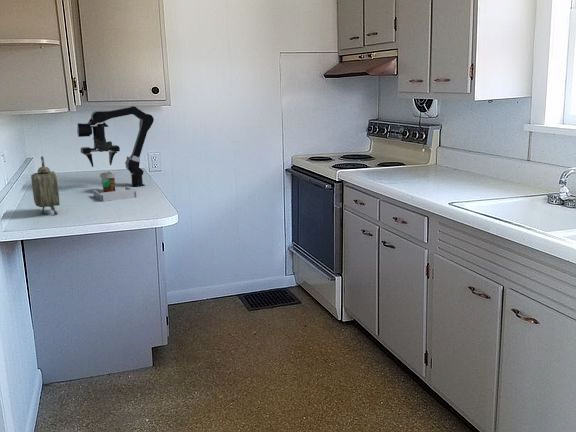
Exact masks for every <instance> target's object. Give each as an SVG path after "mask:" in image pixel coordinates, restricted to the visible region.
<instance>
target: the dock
mask: <svg viewBox="0 0 576 432" xmlns="http://www.w3.org/2000/svg"><path fill="white" fill-rule="evenodd" d="M92 193H93V194H92V195H93V197H95V199H97V200H98V201H99V202H109V201H116V200H117V201H118V200H126V199H133V198H137V189H136V188H131V187H129V186H128V185H127V186H125V189H123V190H115V191H113V192H104V191H103V192H99V191H98V190H96V189H93V191H92Z"/></svg>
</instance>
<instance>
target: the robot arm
mask: <svg viewBox="0 0 576 432" xmlns="http://www.w3.org/2000/svg"><path fill="white" fill-rule="evenodd" d="M130 115H133V116H134V117H136V118H137V119H139V122H138V123H139V124H138V125H139V129H138V133H137V136H136V139H135V142H134V146H133V149H132V152H131V154H130V156H126V160H125V162H124V164H125V168H126V170H127V171H129V172H130V174H131V175H130V176H131V183H130V184H129V185H130V186H131V187H133V188H135V187H142V186H146V184H145V183H143V182H144V181H143V175H144V170H143V169H142V168H141V167H140V164H141V163H140V161H141V160H140V158H141V154H142V150H143V148H144V145H145V140H146V138H147V134H148V132H149V131H150V129H151V127H152V125H153V124H154V116H153V115H152V114H150V113H145V112H143V111H142V110H141V109H139V108H138V107H137V106H134V105H131V106H128V107H123V108H117V109H112V110H94V111H93V112H92V113H91V114H90V119H89V120H88V122H87V123H79V122H78V123H77V127H76V128H77V130H76V132H77V137H78V138H83V137H84V138H85V137H88V138H89V137H91V135H93V137H92V140H93V148H91V147H89V146H86V147H85V146H84V147H80V153H81V154H83V155H84V156H86V158H87V159H88V161H89V163H90V166H91V167H92V168H94V161H93V154H92V153H94V152H100V153H102V152H108V159H109V161H108V162H109V166H112V164H113V159H114V157H115V155H116V154H117V153H118V152H120V151H121V150H120V146H119V145H116V144H113V142H112V141H111V140H110V141H107V139H106V131H105V128H108V127H109V125H108V124H107V123H106V122H107V121H108V120H111V119H114V118H119V117H125V116H130Z"/></svg>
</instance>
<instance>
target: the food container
mask: <svg viewBox="0 0 576 432" xmlns="http://www.w3.org/2000/svg"><path fill="white" fill-rule="evenodd" d="M99 178H101V184H102V190H103V193H104V192H113V191H116V181H115V180H116V179H115V173H113V172H111V170H103V171H100V174H99Z"/></svg>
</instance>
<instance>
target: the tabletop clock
mask: <svg viewBox="0 0 576 432" xmlns="http://www.w3.org/2000/svg"><path fill="white" fill-rule="evenodd" d="M40 159H41V166H40V167H38V169H37V172H35V173H32V174H31V175H30V177H31V178H30V180H31V186H32V187H31V188H32V196H33V201H34V204H35V206H36V207H39V208H42V209H41V211H40V214H42V215H43V214H45V213H46V212H45V208H47V207H49V208H50V210H52V211H53V214H54V215H55V216H57V215H58V214H59V212H58V211H57V210H55V209H56V207H57V206H60V202H61V201H60V194H59V193H60V192H59V185H58V178H57V173H56V172H55V171H53V170H51V169H50V167H48V166H46V165H45V158H44V156H43V155H41V156H40Z"/></svg>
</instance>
